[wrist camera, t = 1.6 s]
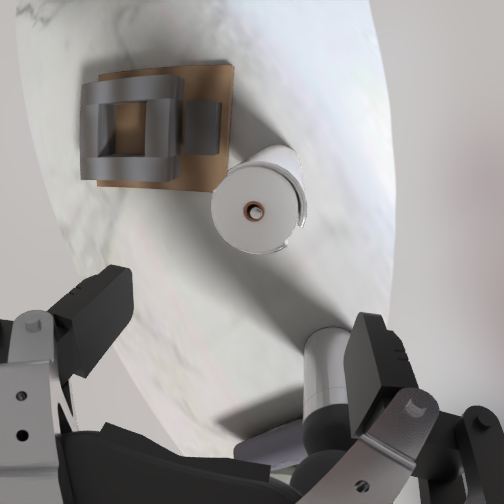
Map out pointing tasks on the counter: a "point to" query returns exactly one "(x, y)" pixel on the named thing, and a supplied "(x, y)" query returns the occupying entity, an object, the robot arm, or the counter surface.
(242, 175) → the paper towel roll
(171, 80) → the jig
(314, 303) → the counter surface
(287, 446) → the bluetooth speaker
